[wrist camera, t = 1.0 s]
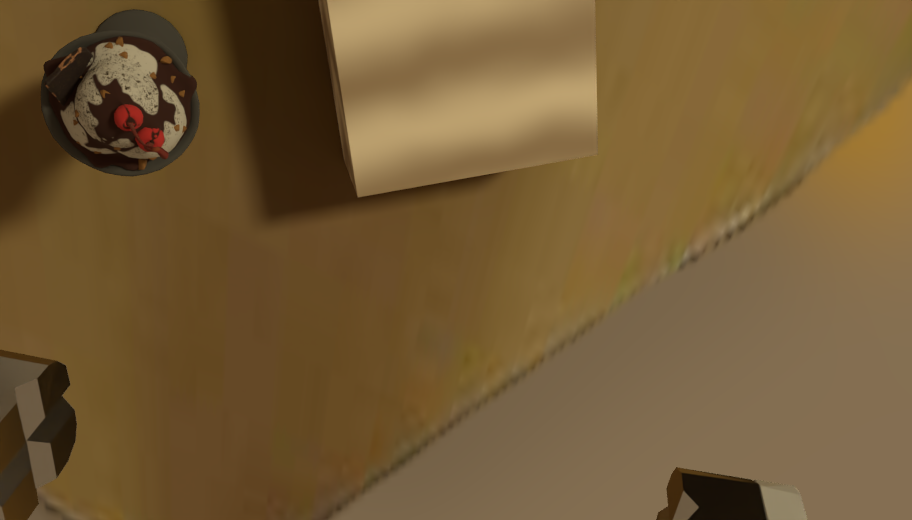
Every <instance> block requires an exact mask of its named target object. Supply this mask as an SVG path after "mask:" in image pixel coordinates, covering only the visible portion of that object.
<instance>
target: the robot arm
mask: <svg viewBox="0 0 912 520" xmlns="http://www.w3.org/2000/svg"><path fill="white" fill-rule="evenodd" d="M69 386H70V381H69V376H68V372H67V367H66V365H64V364H62V363H60V362H58V361H55V360H50V359H45V358H40V357H35V356H30V355H24V354H19V353H14V352H9V351H4V350H0V520H28V518H29V517H30V515H31V514H32V512H33V511H34V510H35V508H36V507H37V506H38V504H39V502H38V496H37V488H39V487H41V486H43V485H45V484H47V483H49V482H50V481H52V480H54V479H56V478H57V477H58V476H59V474H60V473H61V471H62V470H63V468H64V467H65V465H66V464H67V462H68V460H69V457H70V454H71V452H72V449H73V446H74V443H75V441H76V428H77V422H76V415H75V410H74V409H73V408H72V406H71V405H70V404H69V403H68V402H67V401H66V400H65V399H64V398H63V396H62V395H63V394H64V392H65V391H66V390H67V388H68V387H69ZM667 498H668V507H666V508H664V509H663V510H661V511H660V512H658V515H657V519H656V520H807V516H806V513H805V510H804V506H803V502H802V499H801V495H800V492H799V491H798V490H797V489H796V487H795V486H791V485H785V484H779V483H772V482H765V481H759V480H754V481H753V480H751V479H745V478H739V477H733V476H727V475H721V474H714V473H708V472H702V471H696V470H690V469H684V468H678V467H676V469H675V470H674V471H673V473H672V475H671V478H670V480H669V483H668V486H667Z"/></svg>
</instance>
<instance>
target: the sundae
mask: <svg viewBox="0 0 912 520" xmlns="http://www.w3.org/2000/svg"><path fill="white" fill-rule="evenodd" d="M186 67H187V51H186V47H185V44H184V41H183V39H182V37H181V35H180V34H179V33H178V31H177V30H176V29H175V28H174V27H173V25H172V24H171V23H170V22H168V21H167V20H165V19H164V18H162V17H161V16H159V15H157V14H155V13H152V12H148V11H144V10H135V9H133V10H126V11H122V12H119V13H115V14H114V15H112V16H111V17H109V18H108V19H106V20H105V21H104V22H103V23H102V24H101V25H100V26H99V28H98V30H97V31H96V33H93V34H89V35H86V36H82V37H79V38H77V39H76V40H74V41H72V42H70V43H68V44H67V45H66V46H64V47H63V48H61V49H60V50H59V51H58V52H57V53H56V54H55V55H54V57H53V58H52V59H51V60H49V61H47V62H45V64H44V71H45V73H44V76H43V80H42V86H41V108H42V112H43V115H44V118H45V122H46V124H47V126H48V128H49V130H50V132H51V134H52V136H53V138H54V139H55V140H56V141H57V142H58V143H59V144H60V146H61V147H62V148H63V149H64V150H65V151H67V152H68V153H69V154H70V155H71V156H72V157H74V158H76V159H77V160H79V161H80V162H82V163H84V164H86V165H88V166H90V167H92V168H94V169H97V170H99V171H102V172H105V173H109V174H114V175H121V176H138V175H144V174H148V173H151V172H154V171H158V170H160V169H162V168H164V167H165V166H167V165H168V164H170V163H172V162H173V161H174V160H176V159H177V158H178V157H179V156H180V155H182V153H183V152H184V151H185V150H186V149H187V147H188V146H189V145H190V143H191V141H192V140H193V138H194V136H195V133H196V131H197V128H198V123H199V100H198V96H197V92H196V87H197V82H196V80H195V78H194V77H193V76H191V75H190V74H189V72H188V71H187V69H186Z"/></svg>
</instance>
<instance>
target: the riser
mask: <svg viewBox="0 0 912 520" xmlns="http://www.w3.org/2000/svg"><path fill="white" fill-rule="evenodd" d="M318 2H319V8H320V14H321V20H322V26H323V33H324V39H325V45H326V51H327V58H328V64H329V70H330V76H331V82H332V89H333V95H334V101H335V107H336V114H337V120H338V126H339V132H340V138H341V145H342V151H343V157H344V162H345V165H346V168H347V170H348V173H349V176H350V178H351V181H352V183H353V186H354V189H355V191H356V194H357V197H363V196H369V195H374V194H380V193H385V192H391V191H397V190H402V189H408V188H414V187H419V186H425V185H430V184H436V183H442V182H447V181H453V180H458V179H464V178H470V177H475V176H481V175H486V174H492V173H498V172H503V171H509V170H515V169H520V168H526V167H531V166H537V165H543V164H548V163H554V162H559V161H565V160H571V159H576V158H582V157H587V156H593V155H598V136H597V82H596V29H595V0H318Z"/></svg>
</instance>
